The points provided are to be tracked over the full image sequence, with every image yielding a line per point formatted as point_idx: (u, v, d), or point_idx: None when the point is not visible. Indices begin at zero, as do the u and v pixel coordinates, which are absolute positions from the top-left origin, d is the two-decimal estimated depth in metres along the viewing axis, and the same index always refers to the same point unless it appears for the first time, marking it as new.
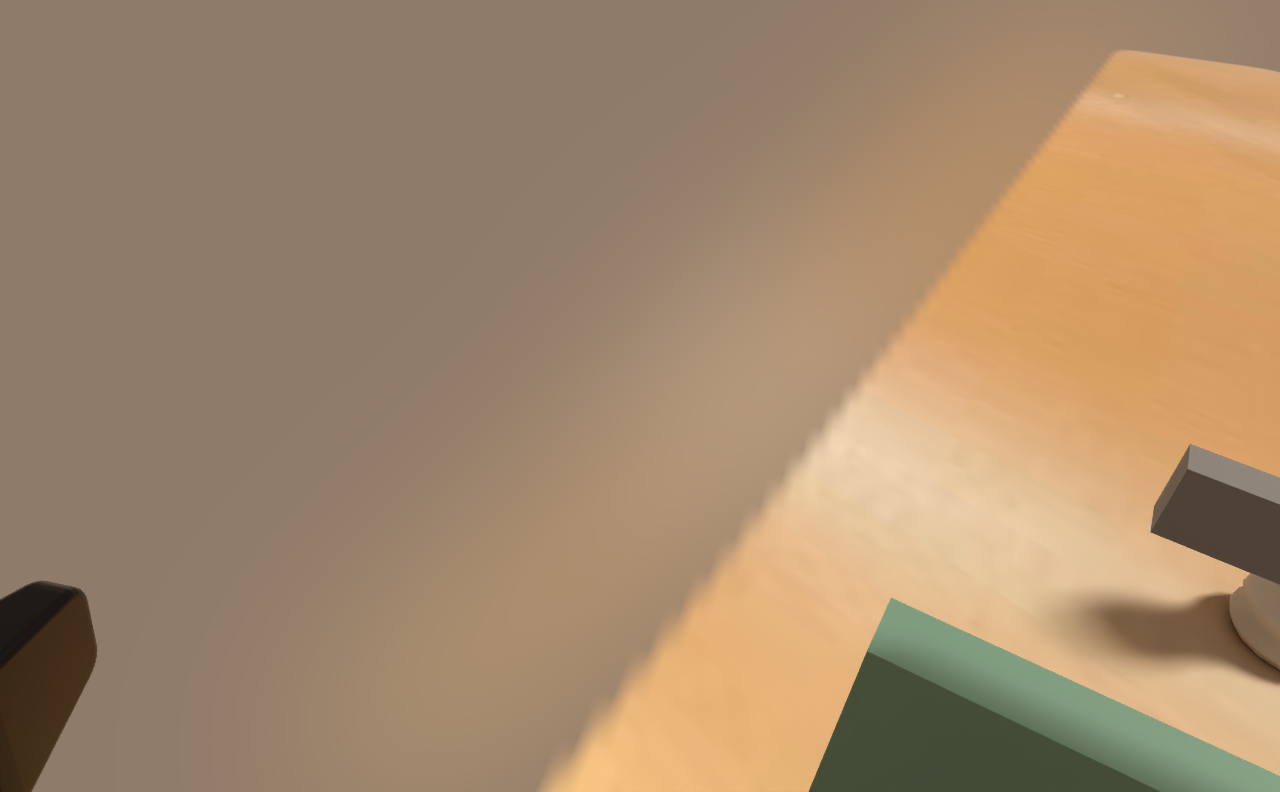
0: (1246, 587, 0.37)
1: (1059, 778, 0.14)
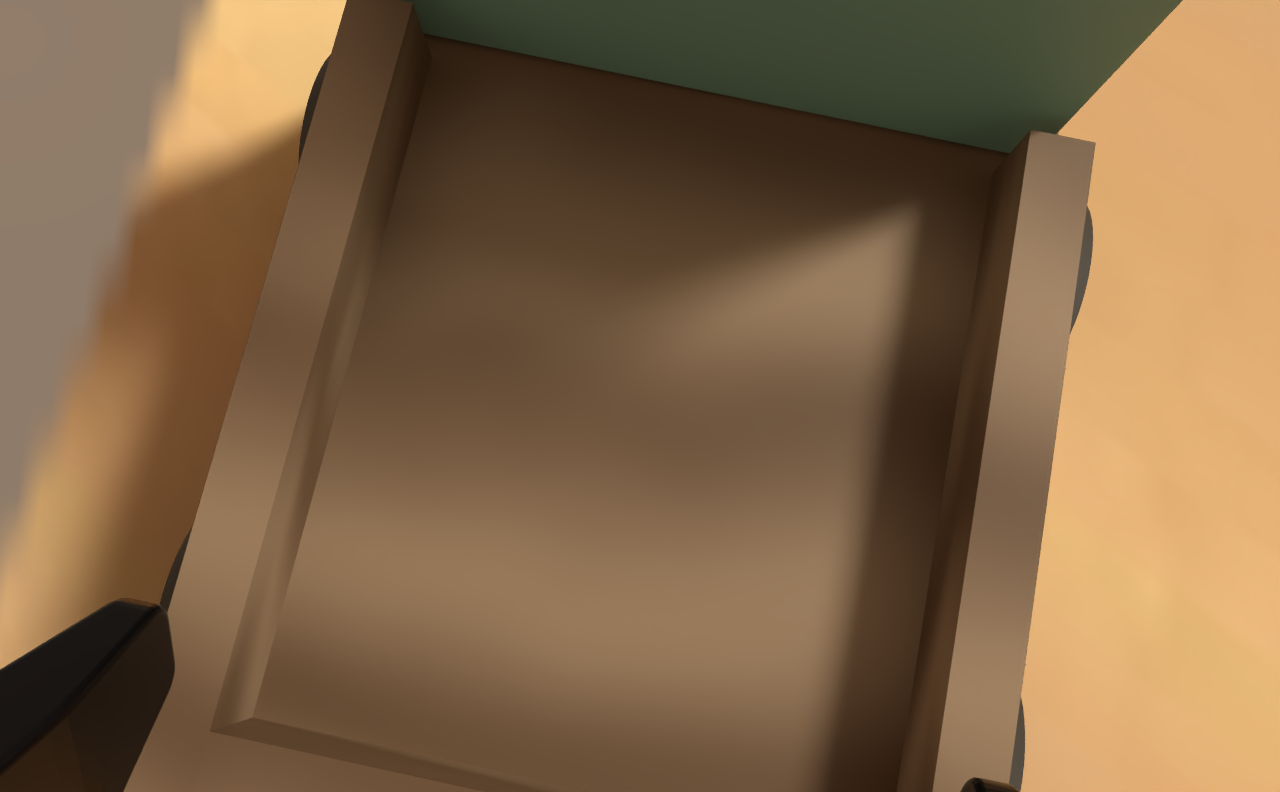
0: None
1: None
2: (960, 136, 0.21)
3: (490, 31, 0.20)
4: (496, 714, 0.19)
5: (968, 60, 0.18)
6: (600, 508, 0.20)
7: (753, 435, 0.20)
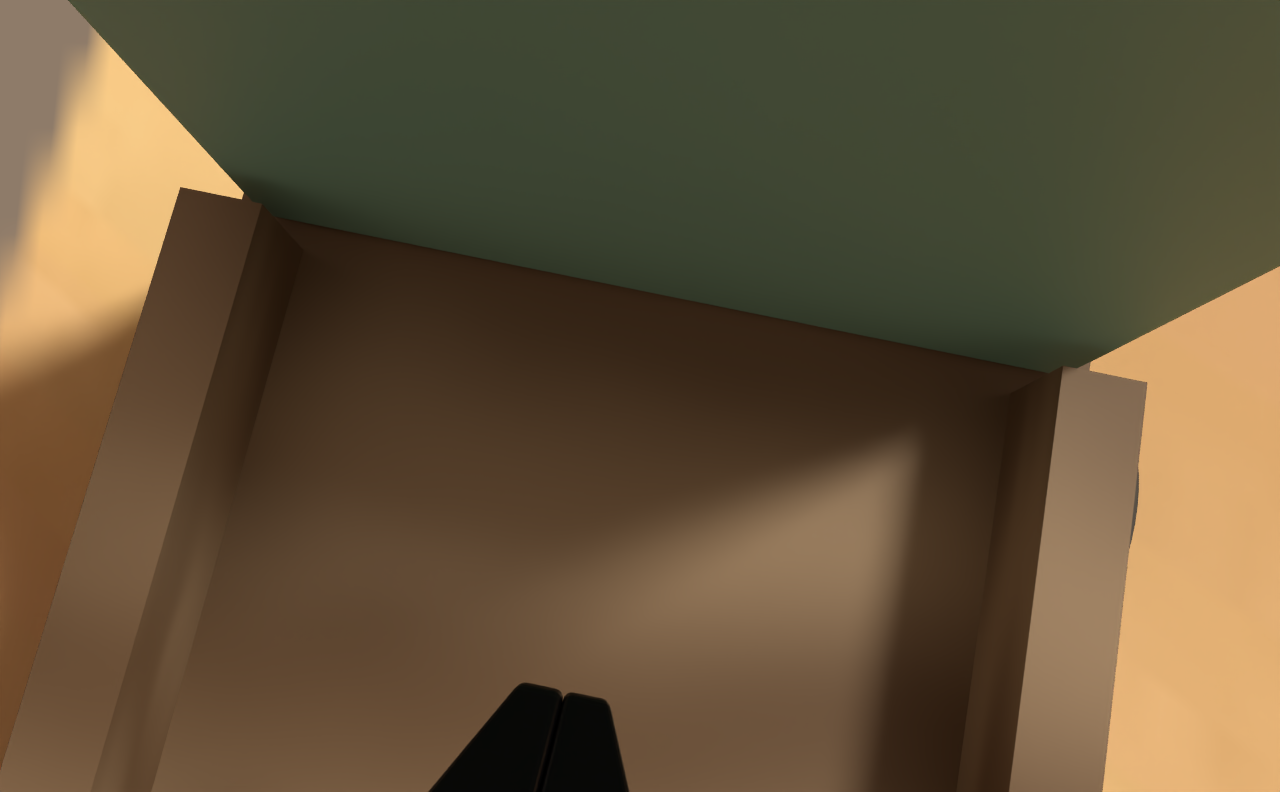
0: None
1: None
2: (970, 352, 0.16)
3: (372, 224, 0.16)
4: None
5: (984, 292, 0.14)
6: None
7: (708, 748, 0.15)
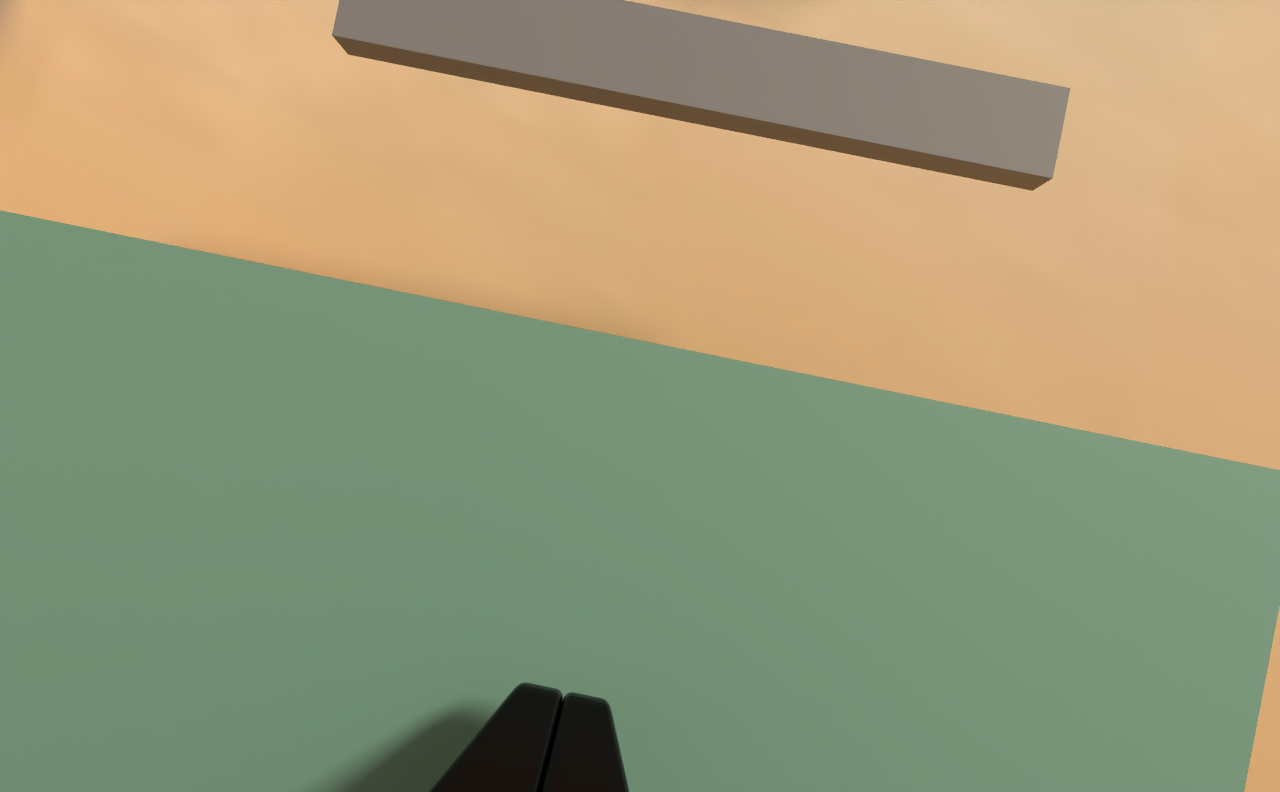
0: None
1: (257, 322, 0.10)
2: None
3: None
4: None
5: None
6: None
7: None
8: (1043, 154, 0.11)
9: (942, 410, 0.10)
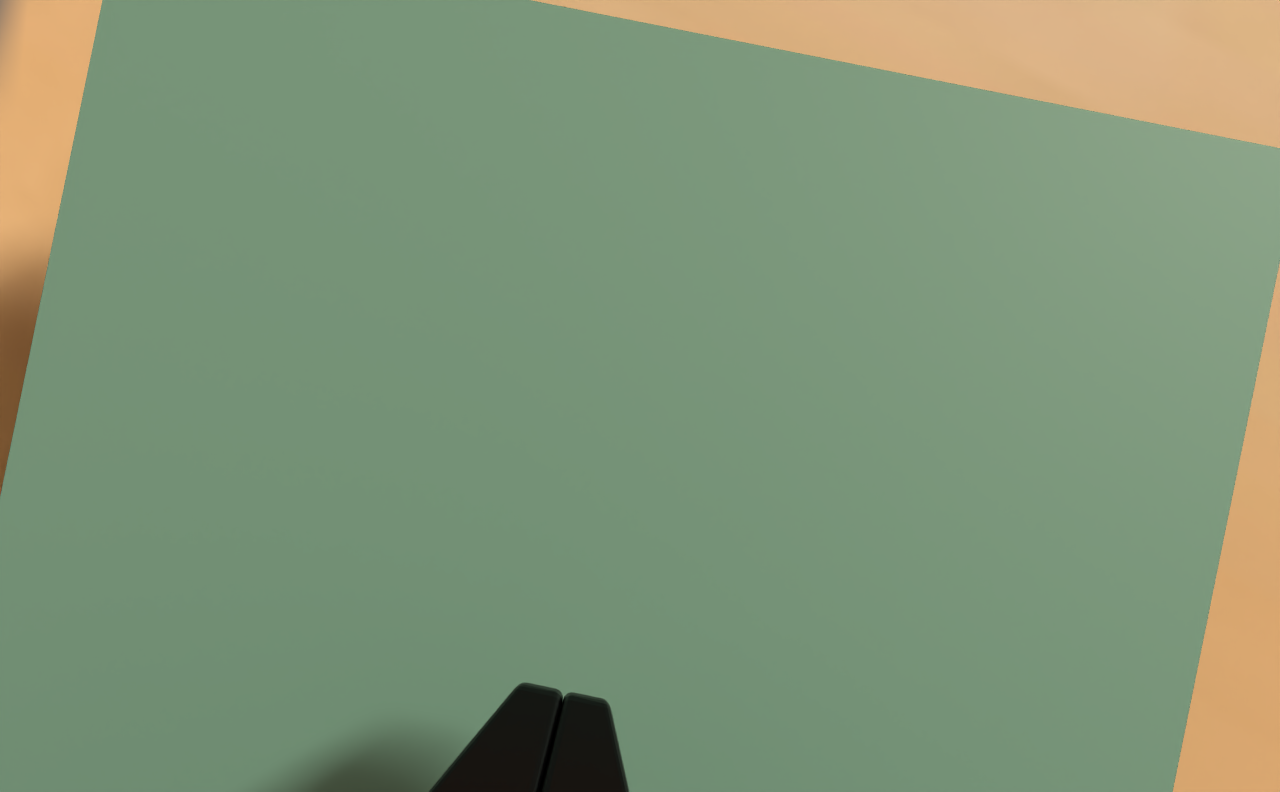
0: None
1: (361, 20, 0.11)
2: None
3: None
4: None
5: (958, 756, 0.11)
6: None
7: None
8: None
9: (977, 96, 0.11)
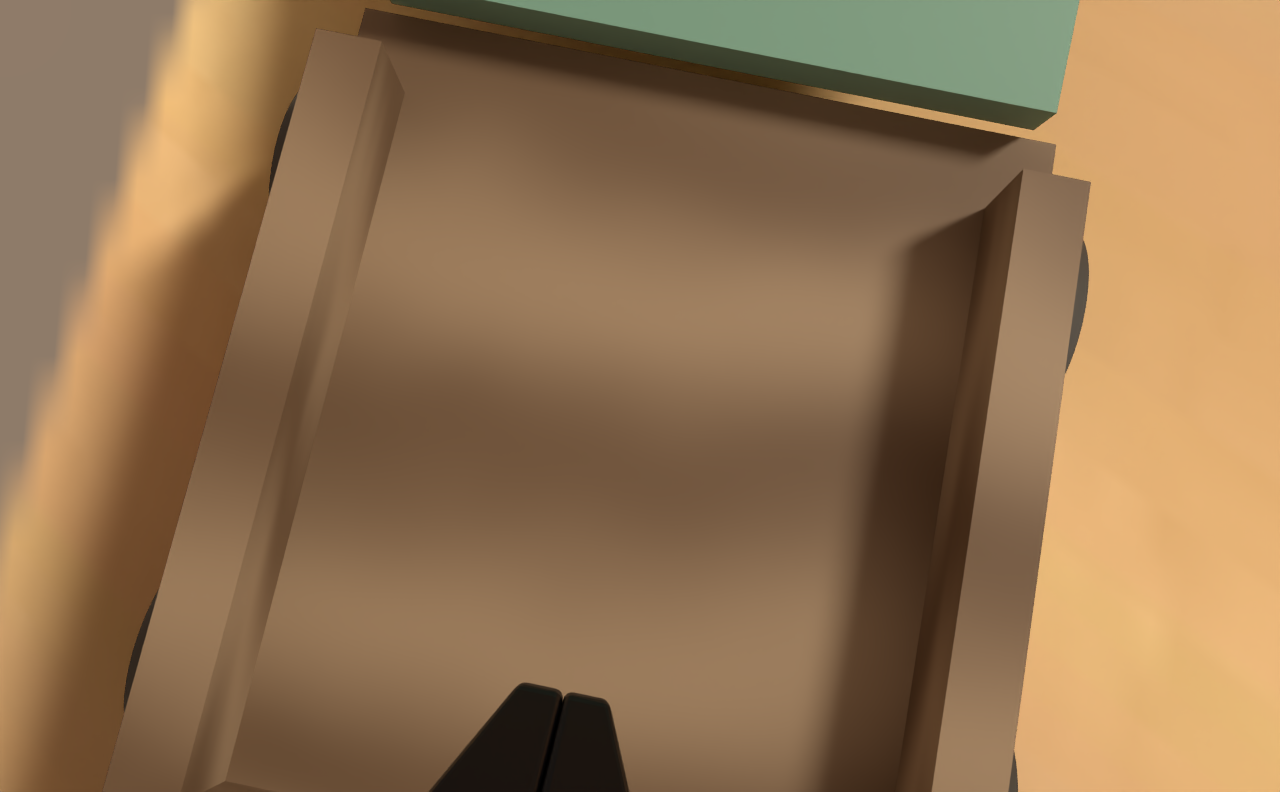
0: None
1: None
2: (976, 81, 0.19)
3: None
4: None
5: None
6: (580, 561, 0.19)
7: (738, 484, 0.19)
8: None
9: None
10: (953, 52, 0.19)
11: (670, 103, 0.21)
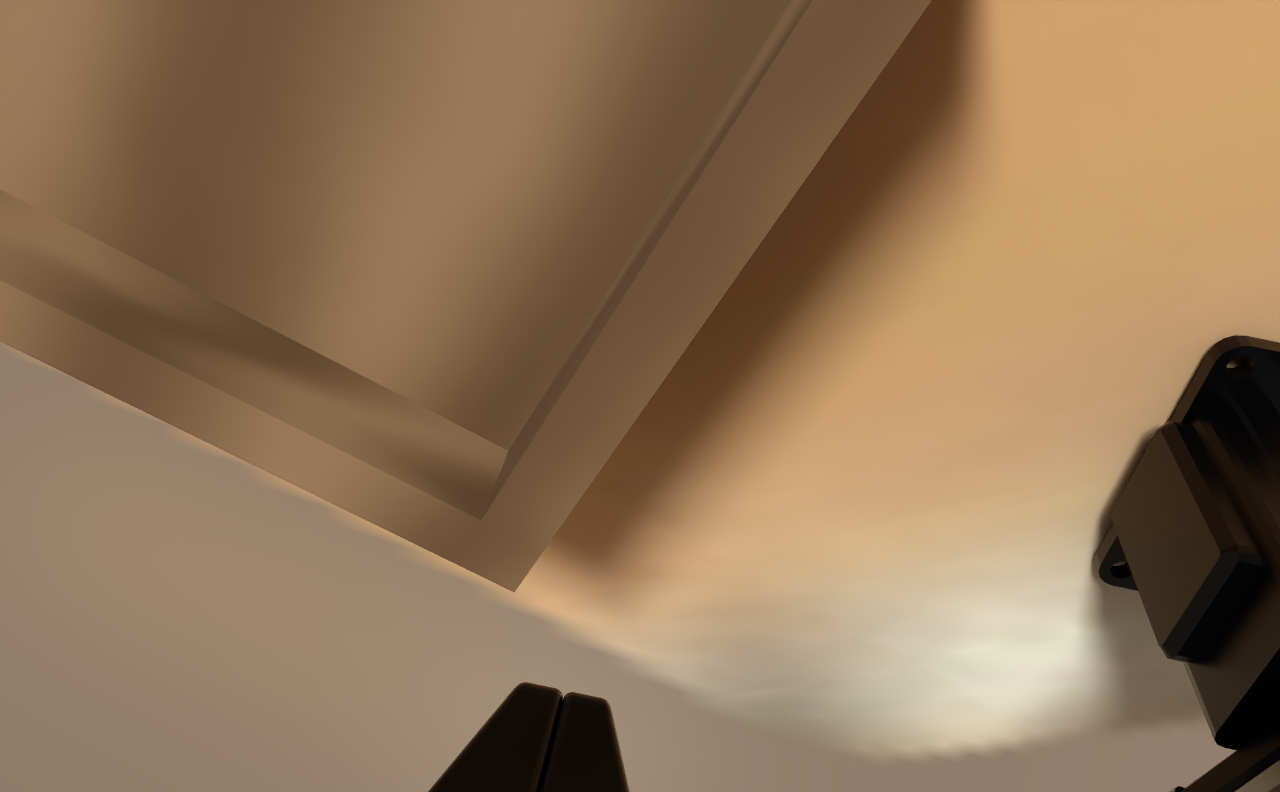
0: None
1: None
2: None
3: None
4: (564, 250, 0.17)
5: None
6: (361, 66, 0.16)
7: None
8: None
9: None
10: None
11: None
